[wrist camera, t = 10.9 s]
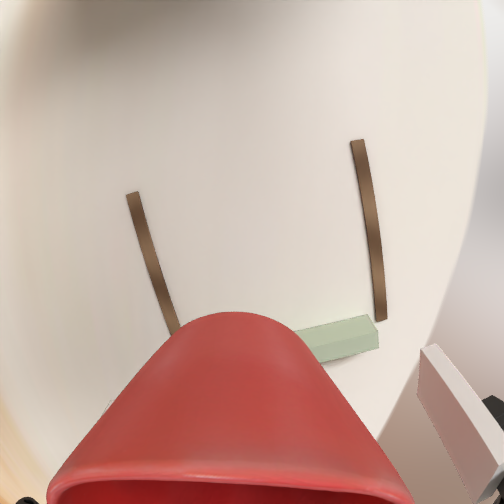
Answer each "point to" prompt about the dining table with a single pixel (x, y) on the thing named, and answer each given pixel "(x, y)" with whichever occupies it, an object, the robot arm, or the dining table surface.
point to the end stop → (341, 338)
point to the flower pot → (229, 428)
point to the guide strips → (371, 227)
